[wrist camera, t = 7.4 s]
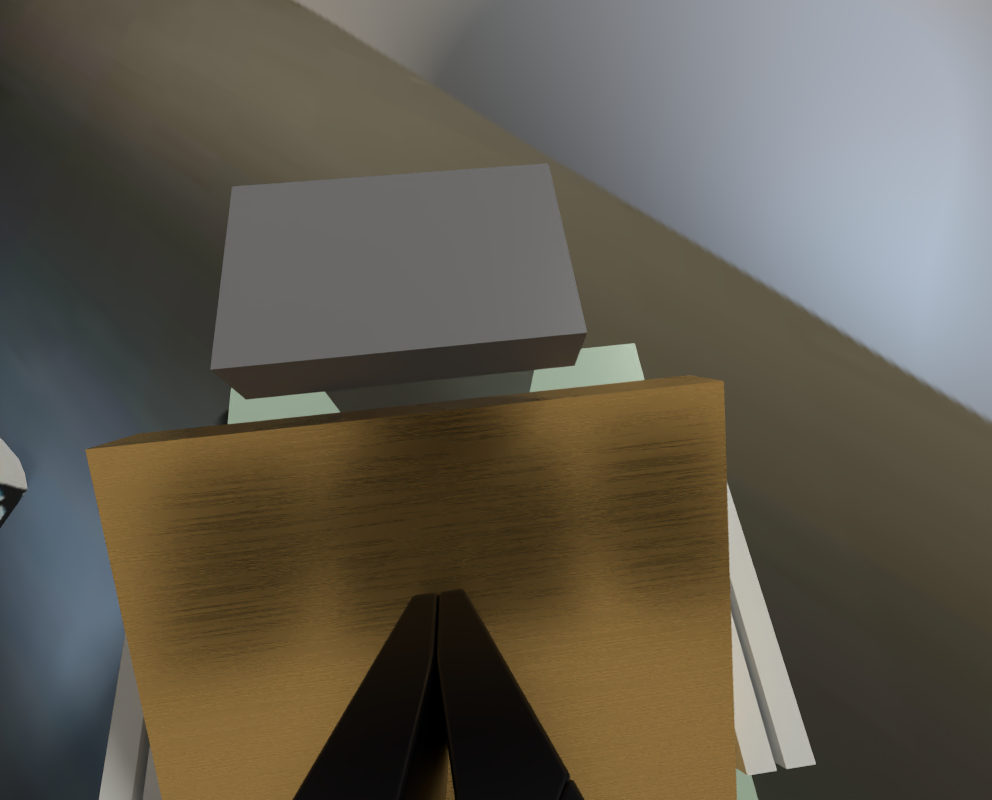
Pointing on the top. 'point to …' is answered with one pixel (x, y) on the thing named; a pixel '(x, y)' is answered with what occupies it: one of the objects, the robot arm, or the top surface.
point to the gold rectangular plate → (433, 577)
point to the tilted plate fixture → (430, 365)
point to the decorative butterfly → (10, 481)
